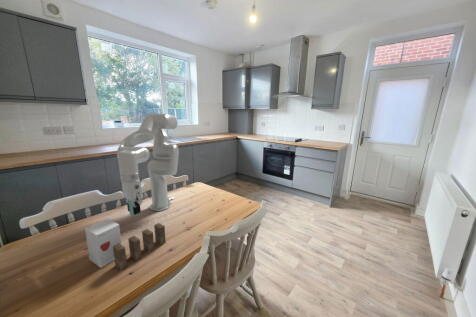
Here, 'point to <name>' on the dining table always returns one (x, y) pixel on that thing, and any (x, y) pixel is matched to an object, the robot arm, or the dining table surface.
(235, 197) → the dining table surface
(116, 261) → the domino
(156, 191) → the robot arm
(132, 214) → the domino
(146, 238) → the domino
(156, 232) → the domino
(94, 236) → the supplement box
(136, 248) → the domino
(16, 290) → the dining table surface
